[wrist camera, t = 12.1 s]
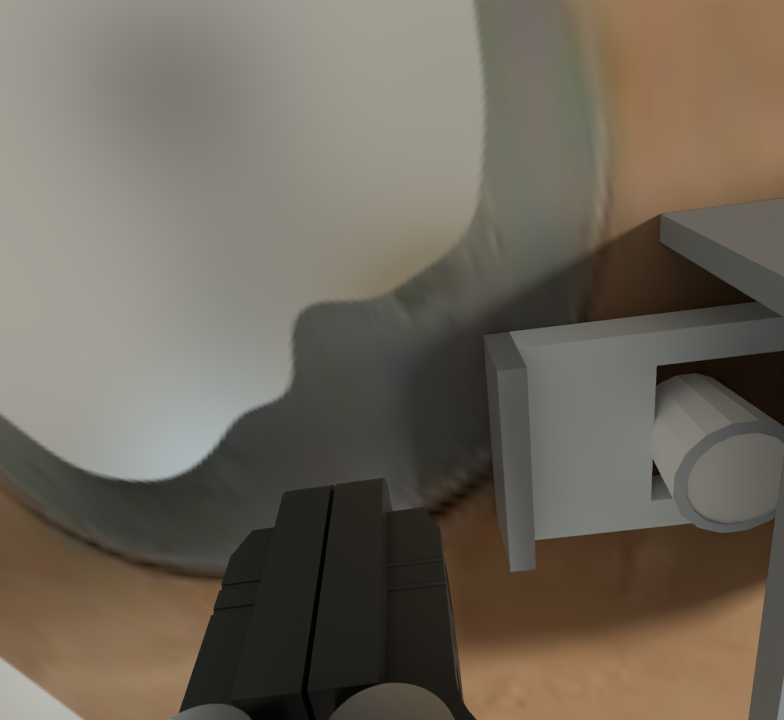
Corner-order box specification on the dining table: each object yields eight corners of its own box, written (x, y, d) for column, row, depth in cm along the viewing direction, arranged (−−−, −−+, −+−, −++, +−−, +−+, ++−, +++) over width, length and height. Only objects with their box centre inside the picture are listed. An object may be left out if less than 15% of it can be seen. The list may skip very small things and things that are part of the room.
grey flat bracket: (829, 292, 37) (892, 324, 32) (799, 485, 42) (850, 535, 37) (483, 334, 37) (497, 371, 33) (496, 518, 43) (510, 572, 38)
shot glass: (693, 478, 42) (750, 552, 35) (604, 436, 40) (646, 505, 34) (764, 392, 39) (838, 454, 33) (671, 344, 38) (730, 400, 31)
